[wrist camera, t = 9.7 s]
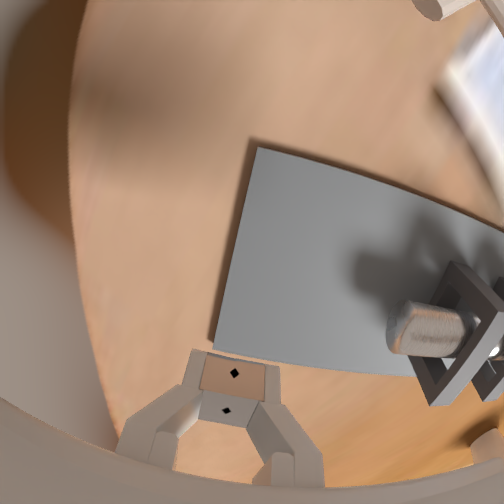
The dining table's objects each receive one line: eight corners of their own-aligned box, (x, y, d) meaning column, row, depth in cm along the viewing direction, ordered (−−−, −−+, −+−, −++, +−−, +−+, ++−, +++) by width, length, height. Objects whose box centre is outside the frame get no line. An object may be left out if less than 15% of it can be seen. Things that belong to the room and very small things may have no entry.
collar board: (258, 146, 16) (246, 186, 7) (564, 266, 17) (619, 317, 9) (213, 343, 21) (189, 459, 13) (501, 372, 23) (535, 432, 15)
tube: (402, 286, 17) (425, 321, 13) (545, 318, 18) (563, 339, 15) (378, 330, 18) (394, 368, 15) (528, 347, 19) (543, 368, 16)
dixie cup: (454, 455, 33) (468, 501, 23) (484, 427, 29) (504, 476, 20) (483, 447, 33) (498, 487, 24) (511, 419, 29) (531, 461, 20)
